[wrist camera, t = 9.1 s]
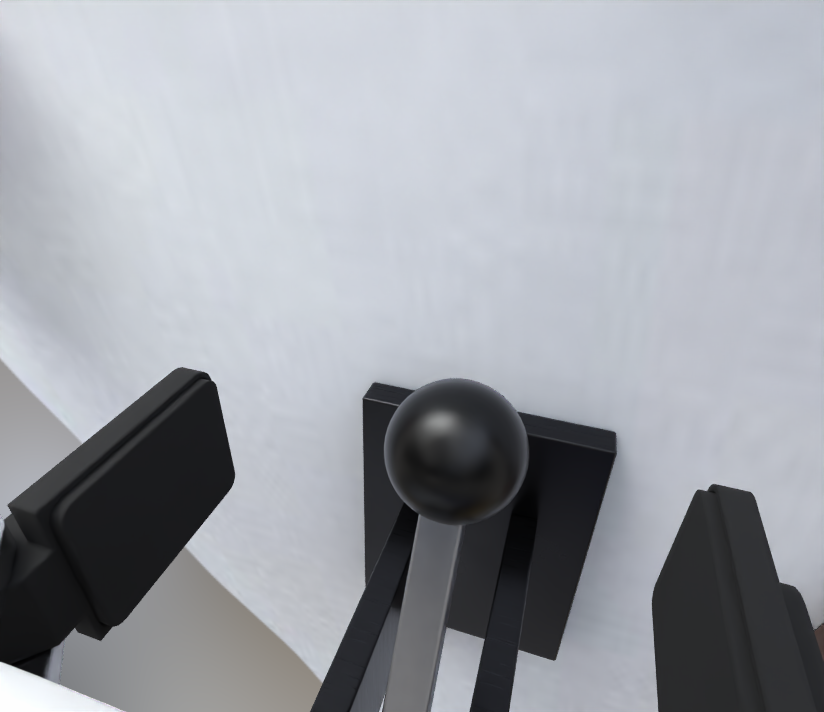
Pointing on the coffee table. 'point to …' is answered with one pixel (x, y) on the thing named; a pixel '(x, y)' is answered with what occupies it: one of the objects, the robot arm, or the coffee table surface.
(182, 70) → the coffee table surface
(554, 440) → the switch bracket
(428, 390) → the switch lever
